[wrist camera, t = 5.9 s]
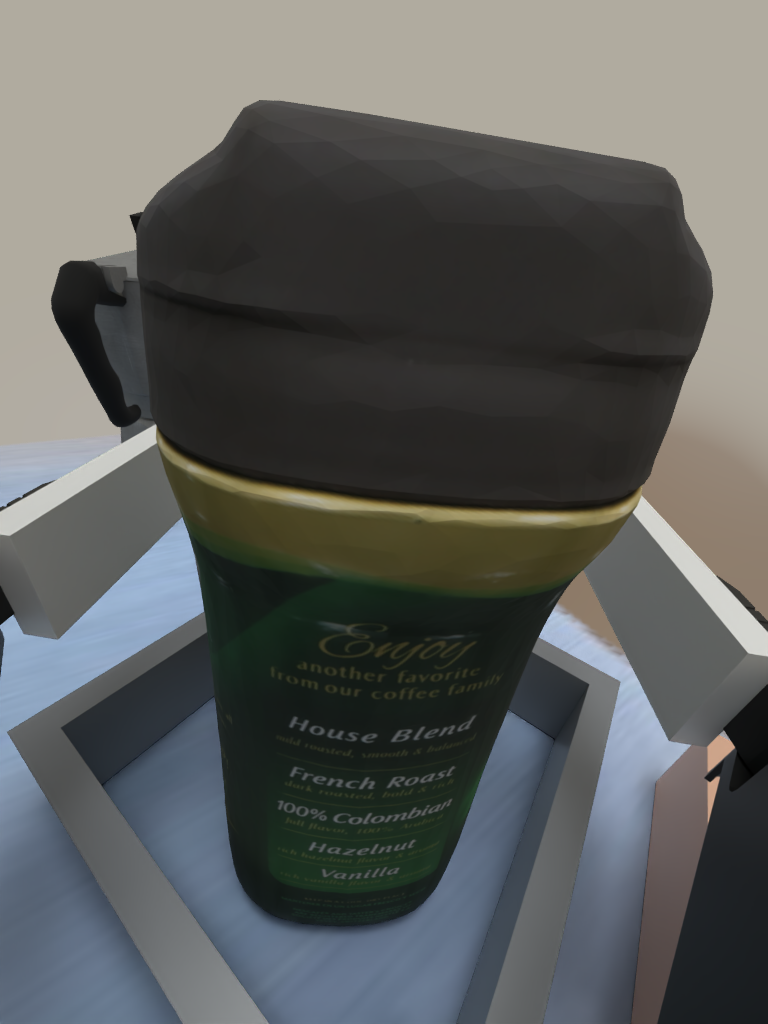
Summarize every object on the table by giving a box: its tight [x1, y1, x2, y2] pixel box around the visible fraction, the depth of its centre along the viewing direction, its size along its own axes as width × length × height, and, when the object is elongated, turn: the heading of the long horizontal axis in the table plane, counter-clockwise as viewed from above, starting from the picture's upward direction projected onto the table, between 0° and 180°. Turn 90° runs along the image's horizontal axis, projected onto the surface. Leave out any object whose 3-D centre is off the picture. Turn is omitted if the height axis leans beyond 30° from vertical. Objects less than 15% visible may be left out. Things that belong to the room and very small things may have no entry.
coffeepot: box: [51, 212, 155, 444], centre depth 27 cm, size 15×9×18 cm, turn 179°
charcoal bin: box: [7, 612, 620, 1024], centre depth 15 cm, size 15×15×4 cm
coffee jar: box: [136, 100, 713, 926], centre depth 11 cm, size 10×8×19 cm
